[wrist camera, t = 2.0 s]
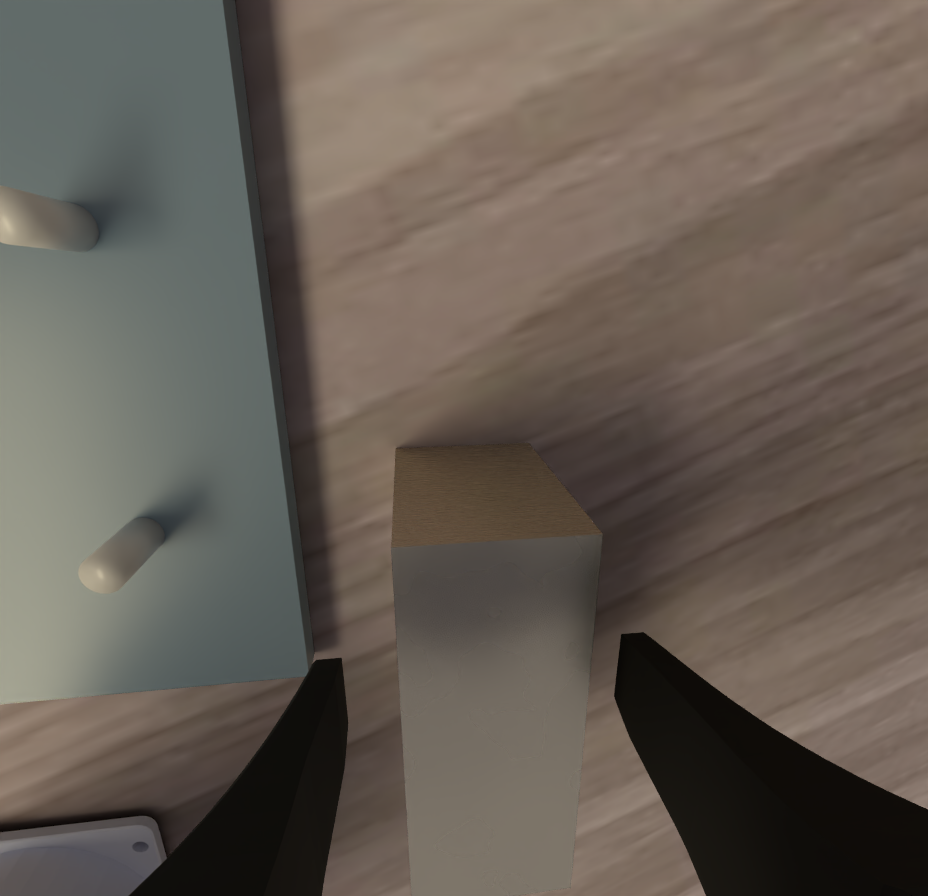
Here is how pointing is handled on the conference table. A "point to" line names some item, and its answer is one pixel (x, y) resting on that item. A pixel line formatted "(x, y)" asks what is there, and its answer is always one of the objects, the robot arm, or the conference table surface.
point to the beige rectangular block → (491, 666)
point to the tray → (138, 362)
